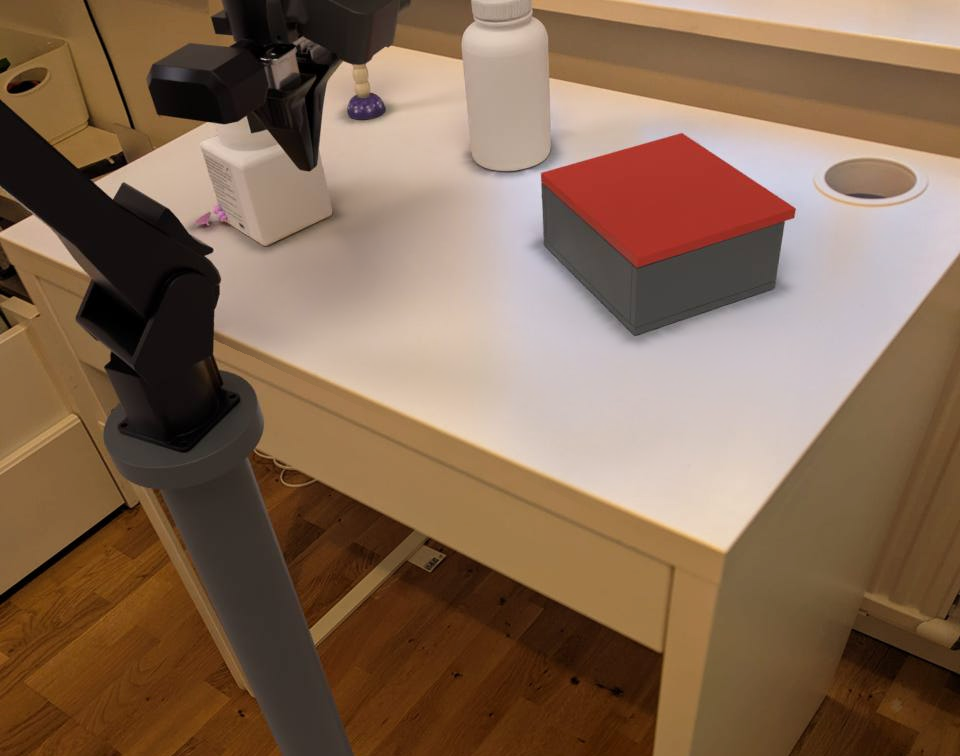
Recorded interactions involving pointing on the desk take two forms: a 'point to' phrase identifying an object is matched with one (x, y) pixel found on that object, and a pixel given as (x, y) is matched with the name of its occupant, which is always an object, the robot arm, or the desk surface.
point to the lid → (665, 198)
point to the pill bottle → (507, 85)
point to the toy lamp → (364, 97)
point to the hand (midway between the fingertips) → (308, 168)
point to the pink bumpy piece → (206, 216)
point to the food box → (661, 270)
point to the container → (262, 182)
